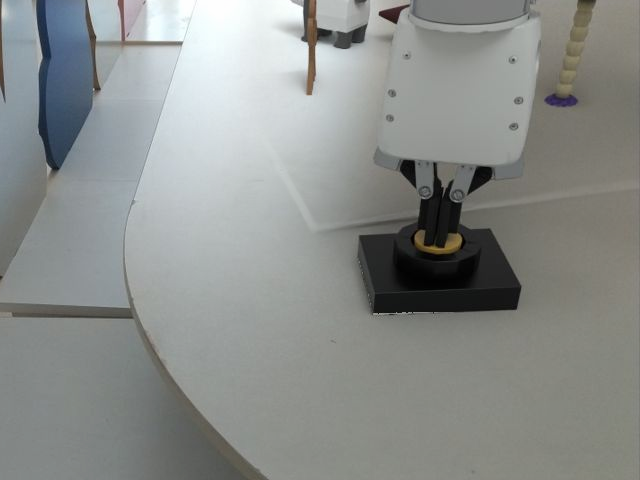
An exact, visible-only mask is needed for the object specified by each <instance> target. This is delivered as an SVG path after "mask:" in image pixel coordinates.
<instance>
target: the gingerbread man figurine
mask: <svg viewBox="0 0 640 480" xmlns="http://www.w3.org/2000/svg"><path fill="white" fill-rule="evenodd" d="M306 42H307V46H308V63H307V80H306V82H307V83H306V96H313V91H314V82H315V80H316V77H317V63H316V46H317V43H318V40H317V20H316V0H310V3H309V18H308V24H307V41H306Z"/></svg>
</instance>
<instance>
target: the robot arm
mask: <svg viewBox="0 0 640 480" xmlns="http://www.w3.org/2000/svg"><path fill="white" fill-rule="evenodd" d="M536 2H537V0H410V2H409V4H410V7H408V8H405V9H403V10H402V11H401V13H400V16H399V19H398V22H397V25H396V26H395V30H394V33H393V37H392V42H391V44H390V45H391V46H390V50H389V54H388V55H389V56H388V59H387V66H386V70H385V76H384V82H383V83H384V84H383V89H382V95H381V102H380V109H379V116H378V117H379V118H378V125H377V147H376V148H375V153H374V155H373V158H372V160H373V161H372V162H373V164H375V165H376V166H378V167H381V168H385V169H386V170H387V169H388V170H390V171H393V172H400V173H401V174H402V176H403V177H404V178H405V179H406V181H408V183H410V184H411V186H412V187H413V188H414V189H415V190H416V195H417V197H418V198H419V199H420V202H419V210H418V220H417V221H418V226H417V229H418V230H425V237H424V245H425V246H431V245H433V244H434V241H435V237H436V243H435V245H438V247H441V248H445V244H446V241H447V237H448V233H452V234H457V232H458V227H459V223H460V220H461V216H462V209H463V203H464V201H465V200H466V198H467V196H469V195H471V194H472V193H474V192H475V191H476V190H479V189H480V188H481V187H482V186H484V185H485V184H487V183H488V182H490V181H495V182H496V181H502V180H503V181H504V180H512V179H518V178H522V176H523V175H524V172H525V166H526V159H525V158H526V157H525V145H526V141H527V137H528V132H529V127H530V124H531V120H532V113H533V107H534V100H535V93H536V86H537V80H538V73H539V67H540V57H541V46H542V45H541V44H542V15H541V14H542V13H541V12H540V10H538V9H535V8H533V7H531V5H536ZM439 164H450V165H457V168H456V172H455V174H454V177H453V179H451V180H450V181H449V182H448V184H447V186H446V187H444V186H443V183H442V180H441V179H440V178H439ZM436 234H437V236H436Z"/></svg>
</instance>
